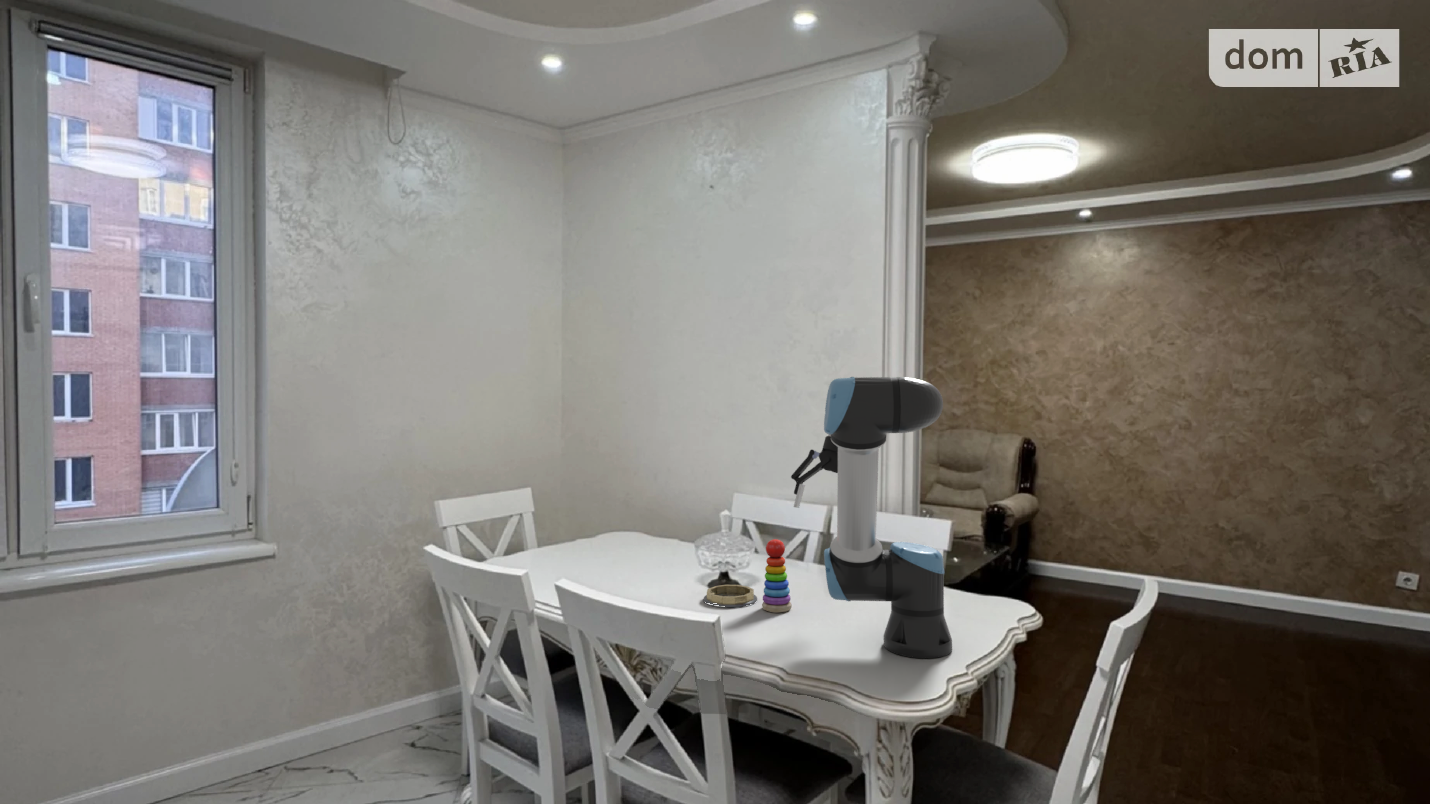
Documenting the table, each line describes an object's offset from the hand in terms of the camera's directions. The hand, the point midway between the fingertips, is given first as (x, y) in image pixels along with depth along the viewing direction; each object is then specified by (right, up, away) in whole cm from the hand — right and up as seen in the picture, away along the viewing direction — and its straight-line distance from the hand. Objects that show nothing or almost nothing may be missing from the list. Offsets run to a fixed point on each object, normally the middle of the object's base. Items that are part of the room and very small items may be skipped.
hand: (819, 514), depth 205 cm
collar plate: (-24, -25, +8) cm, 36 cm away
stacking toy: (-12, -26, -1) cm, 28 cm away
